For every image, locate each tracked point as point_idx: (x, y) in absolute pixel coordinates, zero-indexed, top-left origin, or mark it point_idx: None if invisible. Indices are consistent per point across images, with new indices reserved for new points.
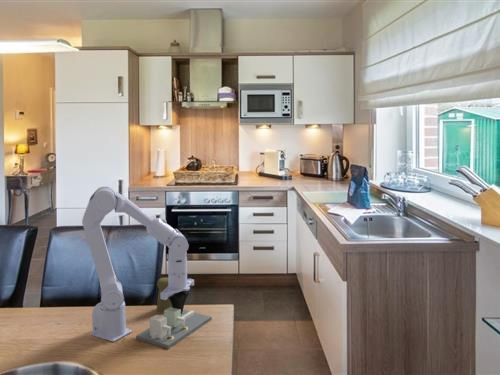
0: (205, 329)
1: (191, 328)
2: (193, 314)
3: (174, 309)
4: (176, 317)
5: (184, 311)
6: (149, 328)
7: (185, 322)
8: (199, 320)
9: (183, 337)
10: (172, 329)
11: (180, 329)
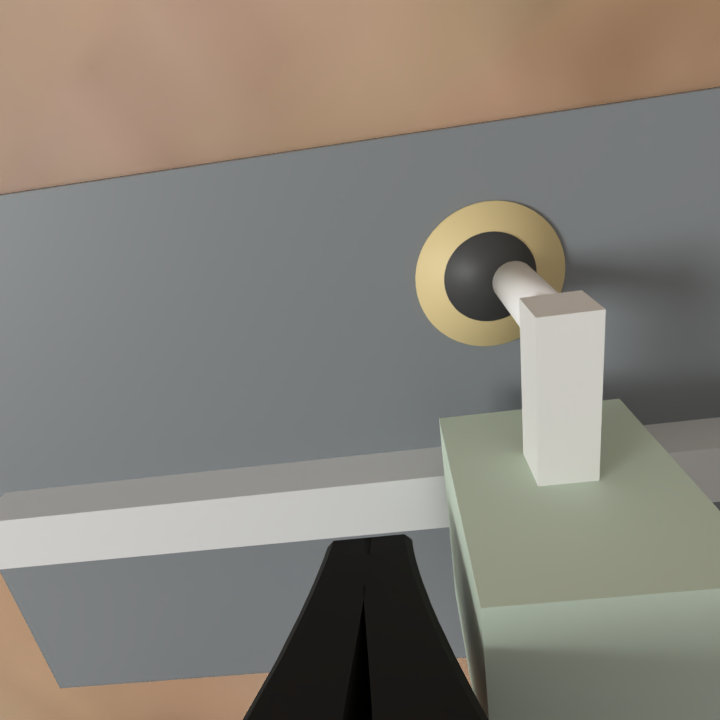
0: (179, 26)
1: (399, 181)
2: (32, 492)
3: (566, 711)
4: (626, 486)
5: (68, 632)
6: None
7: (296, 413)
8: (85, 289)
9: (695, 90)
10: None
11: None
